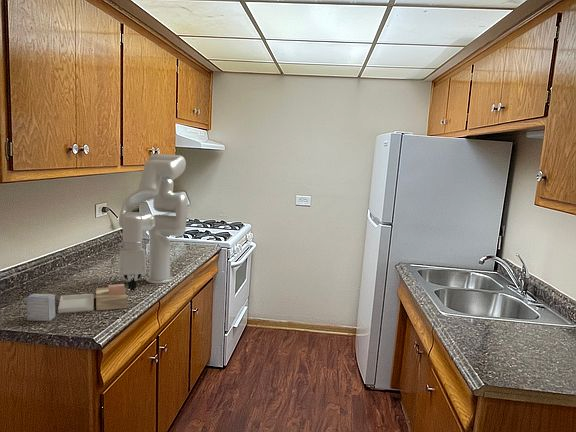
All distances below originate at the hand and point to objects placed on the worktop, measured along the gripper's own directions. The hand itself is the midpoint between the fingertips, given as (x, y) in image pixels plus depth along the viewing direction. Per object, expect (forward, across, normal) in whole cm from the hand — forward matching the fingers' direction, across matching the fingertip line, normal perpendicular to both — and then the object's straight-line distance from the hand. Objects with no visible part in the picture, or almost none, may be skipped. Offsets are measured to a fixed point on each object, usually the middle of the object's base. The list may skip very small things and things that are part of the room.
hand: (132, 289), depth 180 cm
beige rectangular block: (+5, -8, 0) cm, 9 cm away
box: (+5, -20, 0) cm, 21 cm away
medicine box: (+5, -32, -12) cm, 34 cm away
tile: (+1, -6, 0) cm, 6 cm away
